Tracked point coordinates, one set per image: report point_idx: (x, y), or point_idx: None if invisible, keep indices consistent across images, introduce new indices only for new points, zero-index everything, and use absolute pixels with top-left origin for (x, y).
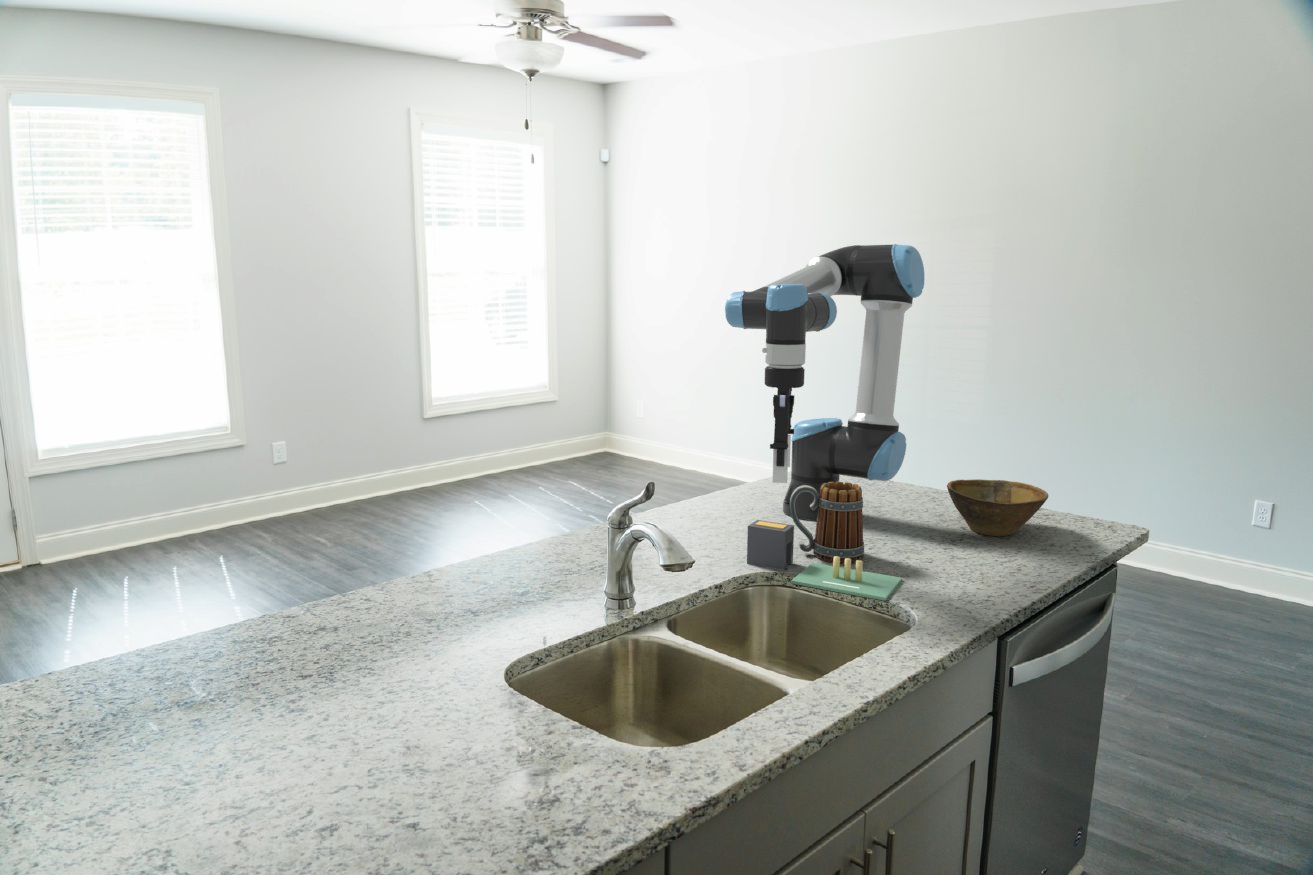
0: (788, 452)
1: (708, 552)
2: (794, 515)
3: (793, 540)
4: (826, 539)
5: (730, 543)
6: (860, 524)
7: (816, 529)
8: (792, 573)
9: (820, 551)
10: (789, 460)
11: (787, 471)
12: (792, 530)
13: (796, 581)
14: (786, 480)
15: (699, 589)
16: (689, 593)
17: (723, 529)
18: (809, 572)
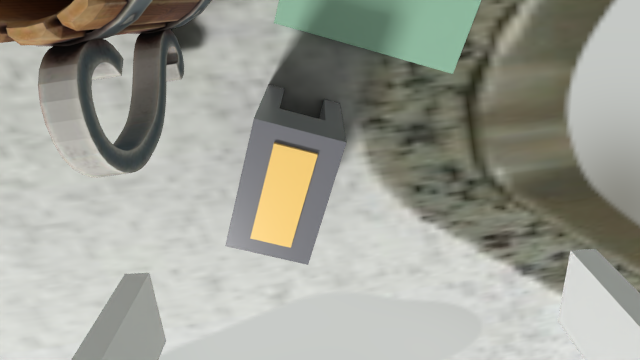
0: (112, 354)
1: (248, 299)
2: (154, 129)
3: (261, 102)
4: None
5: (154, 264)
6: None
7: (144, 29)
8: (362, 76)
9: (207, 2)
10: (135, 304)
11: (621, 294)
12: (271, 117)
13: (458, 58)
14: (603, 261)
15: (518, 275)
16: (545, 289)
17: (38, 297)
18: (372, 25)
